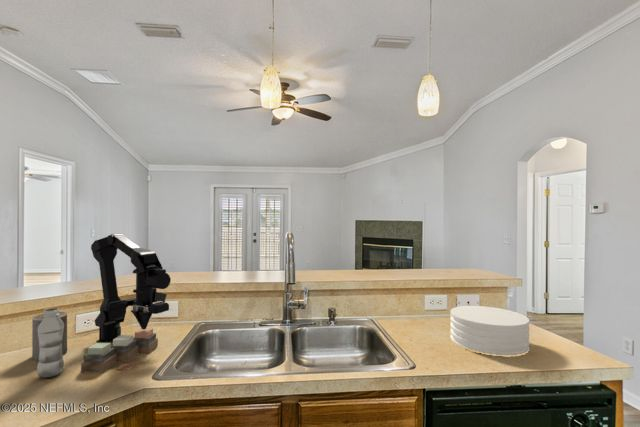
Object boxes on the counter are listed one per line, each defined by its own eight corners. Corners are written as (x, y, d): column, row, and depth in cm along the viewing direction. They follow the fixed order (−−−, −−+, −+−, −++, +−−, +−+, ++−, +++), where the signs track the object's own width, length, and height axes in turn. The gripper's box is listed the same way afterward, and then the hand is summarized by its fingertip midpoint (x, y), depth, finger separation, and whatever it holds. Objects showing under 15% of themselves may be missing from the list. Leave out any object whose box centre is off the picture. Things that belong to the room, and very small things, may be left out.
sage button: (87, 356, 110) (88, 348, 110) (96, 350, 115) (96, 342, 115) (102, 356, 110) (102, 348, 110) (110, 350, 115) (110, 342, 115)
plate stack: (449, 350, 131) (449, 319, 131) (451, 328, 157) (451, 303, 157) (535, 363, 120) (536, 329, 121) (522, 337, 146) (523, 310, 146)
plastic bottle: (69, 372, 108) (70, 307, 108) (45, 382, 102) (47, 313, 102) (54, 369, 110) (55, 306, 111) (30, 378, 104) (32, 311, 104)
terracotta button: (134, 339, 125) (134, 332, 125) (140, 335, 130) (140, 328, 130) (147, 339, 125) (147, 332, 125) (153, 335, 130) (153, 328, 130)
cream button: (112, 347, 118) (112, 339, 118) (120, 342, 122) (120, 335, 122) (126, 347, 118) (126, 339, 118) (133, 342, 122) (133, 335, 122)
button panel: (81, 372, 109) (81, 356, 109) (119, 346, 131) (120, 332, 131) (126, 372, 109) (126, 356, 109) (157, 346, 131) (157, 332, 131)
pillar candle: (55, 347, 128) (55, 307, 128) (73, 351, 125) (73, 309, 125) (25, 358, 119) (25, 314, 119) (43, 362, 116) (43, 317, 116)
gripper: (181, 284, 131) (180, 326, 131) (145, 280, 139) (144, 319, 139) (156, 290, 121) (155, 335, 121) (119, 285, 129) (118, 327, 129)
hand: (144, 329), depth 128 cm, fingers closed
